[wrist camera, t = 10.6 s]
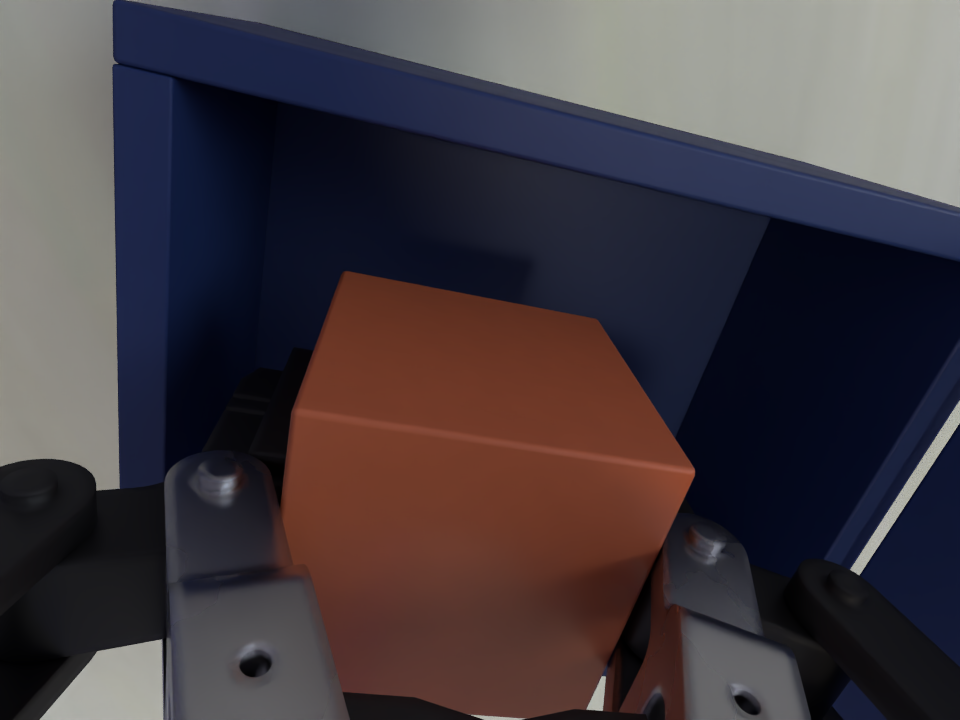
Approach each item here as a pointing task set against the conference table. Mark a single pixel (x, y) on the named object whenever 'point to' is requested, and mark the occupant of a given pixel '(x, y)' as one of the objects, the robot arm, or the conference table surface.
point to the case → (526, 262)
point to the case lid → (920, 568)
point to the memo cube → (474, 496)
